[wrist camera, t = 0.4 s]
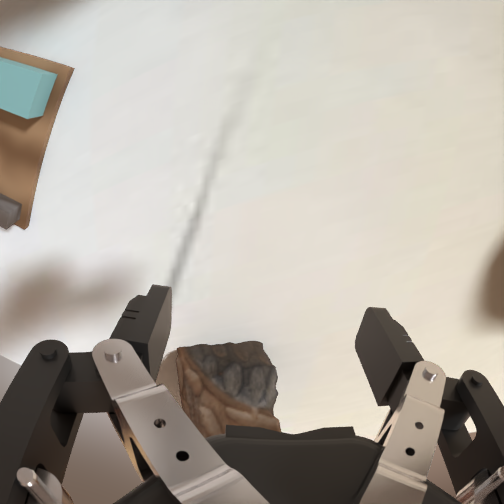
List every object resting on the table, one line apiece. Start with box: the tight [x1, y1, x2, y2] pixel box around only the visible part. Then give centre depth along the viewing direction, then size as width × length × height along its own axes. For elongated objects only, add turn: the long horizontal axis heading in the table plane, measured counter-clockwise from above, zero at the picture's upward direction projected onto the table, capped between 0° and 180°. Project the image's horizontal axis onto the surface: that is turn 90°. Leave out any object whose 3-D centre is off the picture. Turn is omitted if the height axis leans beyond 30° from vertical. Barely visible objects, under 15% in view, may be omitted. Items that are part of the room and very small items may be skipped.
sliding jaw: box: [0, 57, 58, 119], centre depth 22 cm, size 4×10×3 cm, turn 62°
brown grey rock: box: [176, 341, 281, 438], centre depth 35 cm, size 13×13×20 cm
